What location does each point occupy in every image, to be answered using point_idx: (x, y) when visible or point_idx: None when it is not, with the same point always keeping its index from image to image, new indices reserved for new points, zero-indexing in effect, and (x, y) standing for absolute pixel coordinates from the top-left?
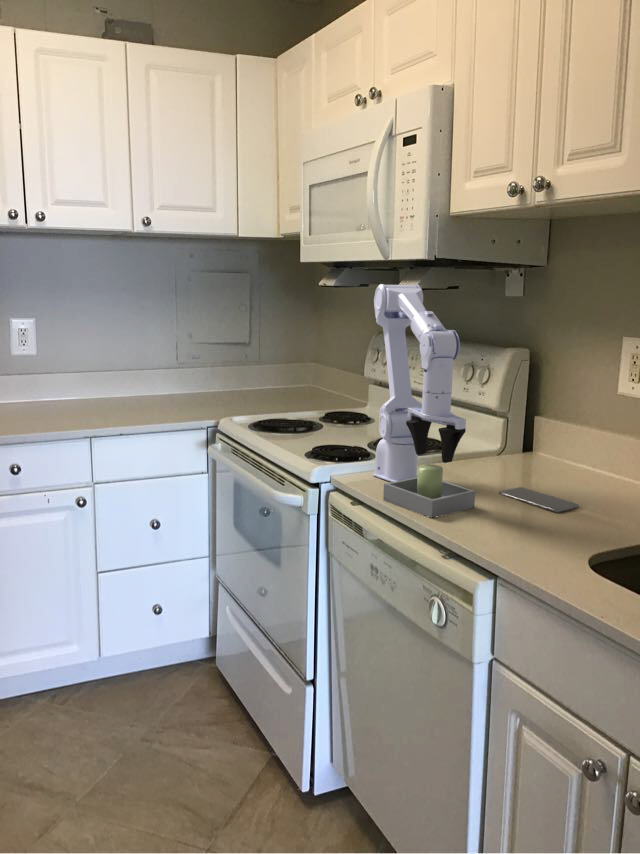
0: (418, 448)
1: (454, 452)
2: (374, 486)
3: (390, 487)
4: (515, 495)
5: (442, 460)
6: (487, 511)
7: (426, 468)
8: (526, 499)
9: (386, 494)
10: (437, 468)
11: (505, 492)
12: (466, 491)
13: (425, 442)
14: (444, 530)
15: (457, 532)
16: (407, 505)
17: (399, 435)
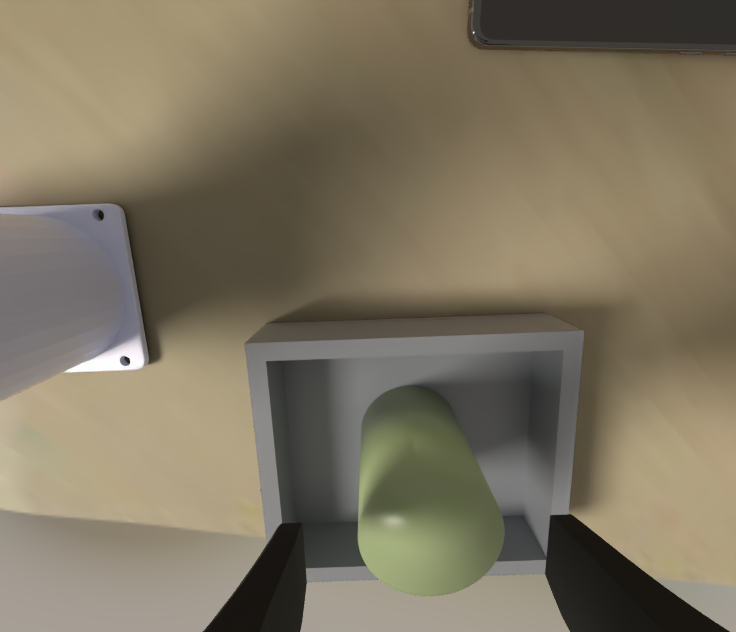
0: (299, 626)
1: (628, 562)
2: (118, 453)
3: (314, 576)
4: (573, 22)
5: (554, 588)
6: (606, 300)
7: (432, 563)
8: (651, 33)
9: None
10: (468, 516)
11: (506, 21)
12: (563, 371)
13: (279, 597)
14: (634, 555)
15: (672, 536)
16: None
17: None
